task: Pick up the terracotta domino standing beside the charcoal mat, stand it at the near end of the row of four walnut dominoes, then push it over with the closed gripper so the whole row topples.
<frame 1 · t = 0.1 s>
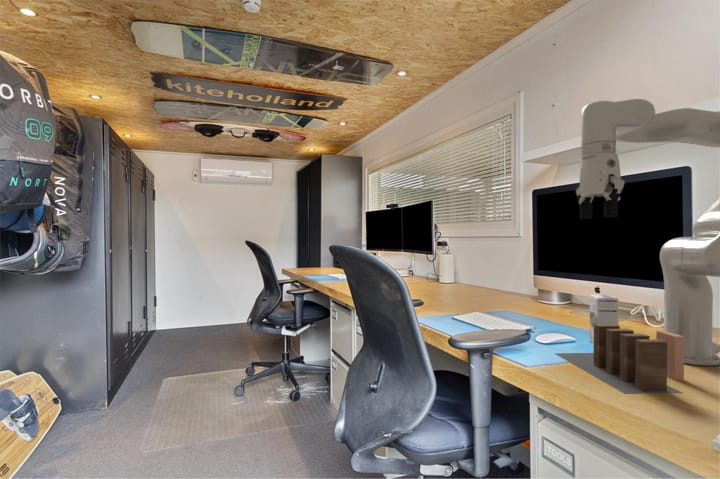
hand: (598, 218, 97), 37 cm above the table, tool pointing down, fingers open, 9 cm apart
domino 1: (606, 366, 91), resting on mat
domino 4: (650, 389, 78), resting on mat
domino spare: (669, 377, 85), on the table
domino 3: (634, 380, 82), resting on mat
domino 2: (619, 373, 87), resting on mat
syrup box: (603, 346, 110), on the table
mat: (609, 371, 88), on the table
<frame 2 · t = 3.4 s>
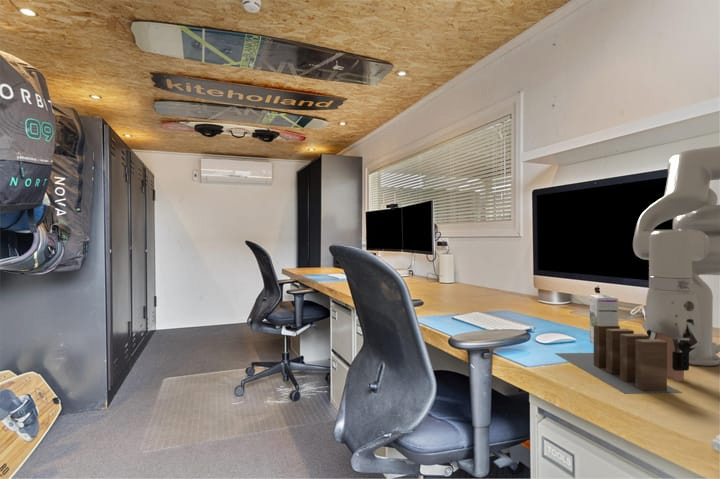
hand: (669, 364, 85), 3 cm above the table, tool pointing down, fingers closed on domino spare, 4 cm apart
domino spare: (669, 377, 85), on the table, touching gripper
everything else where it was.
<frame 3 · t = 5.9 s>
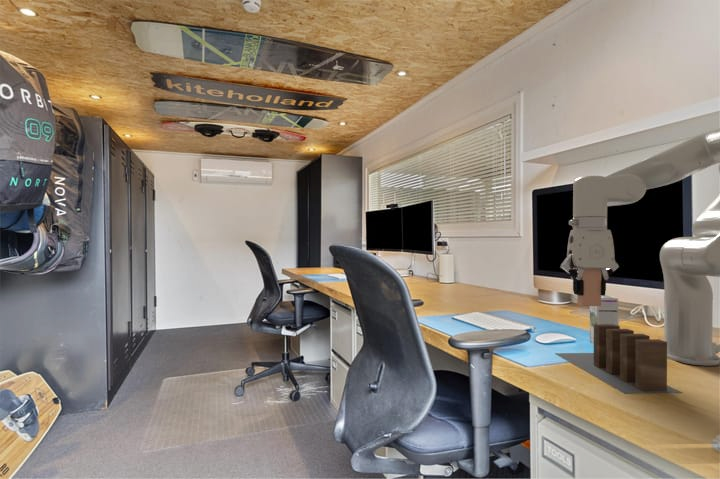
hand: (589, 294, 97), 17 cm above the table, tool pointing down, fingers closed on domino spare, 4 cm apart
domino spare: (589, 305, 97), point 14 cm above the table, touching gripper
everything else where it was.
when the fingers open (4 cm above the table, at t = 8.6 s): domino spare stays where it is, resting on mat.
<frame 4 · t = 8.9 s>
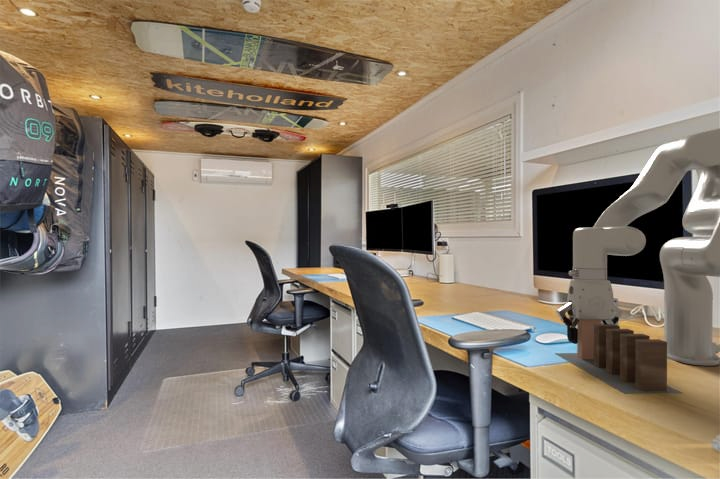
hand: (589, 341, 97), 5 cm above the table, tool pointing down, fingers open, 8 cm apart
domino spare: (589, 357, 98), resting on mat
everything else where it was.
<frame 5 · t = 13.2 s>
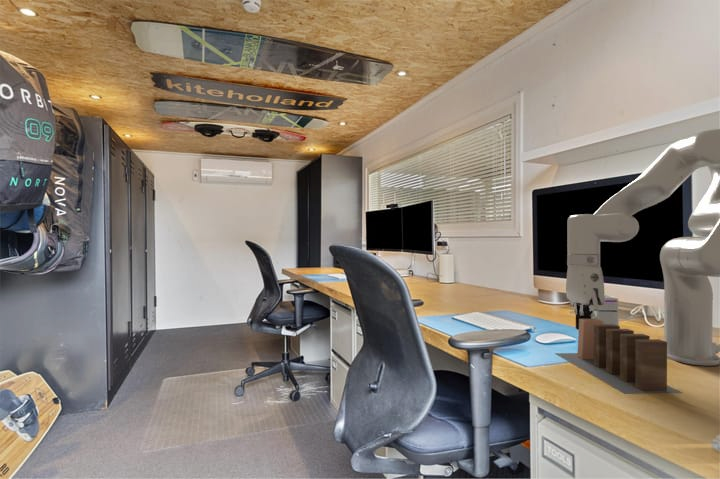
hand: (583, 329, 100), 7 cm above the table, tool pointing down, fingers closed
nothing on the table moved.
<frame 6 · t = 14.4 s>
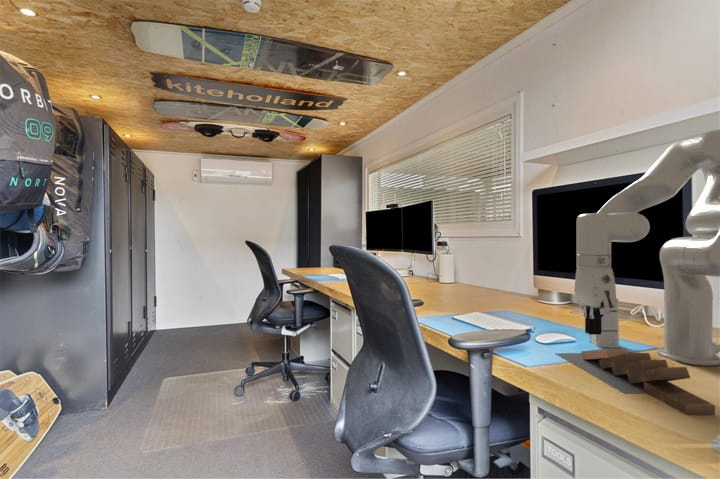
hand: (593, 333, 96), 7 cm above the table, tool pointing down, fingers closed
domino 1: (610, 364, 90), point 1 cm above the table, tilted 63°, touching domino 2, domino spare
domino 4: (655, 386, 76), point 1 cm above the table, tilted 93°, touching domino 3, mat
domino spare: (591, 355, 97), point 1 cm above the table, tilted 70°, touching domino 1, mat
domino 3: (639, 378, 81), point 1 cm above the table, tilted 63°, touching domino 2, domino 4
domino 2: (623, 371, 85), point 1 cm above the table, tilted 63°, touching domino 1, domino 3, mat
everything else where it was.
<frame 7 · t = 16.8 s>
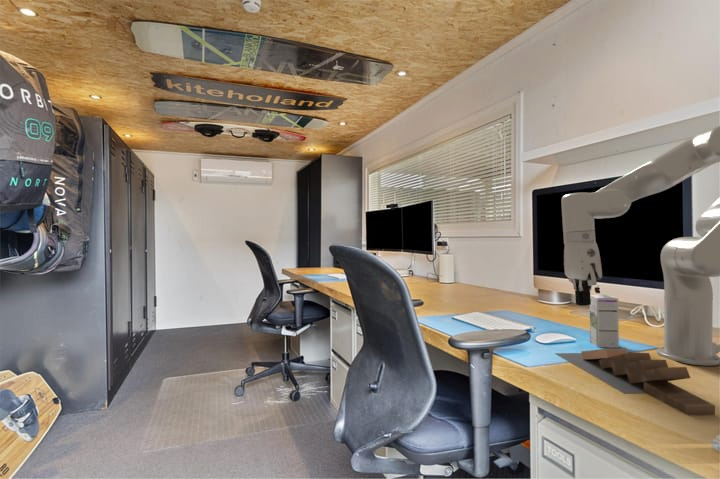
hand: (583, 304, 103), 13 cm above the table, tool pointing down, fingers closed
nothing on the table moved.
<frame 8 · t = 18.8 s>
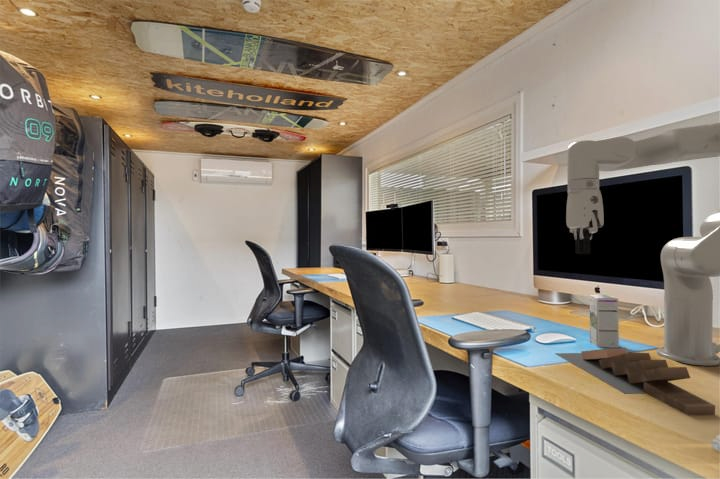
hand: (582, 253, 103), 27 cm above the table, tool pointing down, fingers closed
nothing on the table moved.
at the end: domino 4 tilted 93°; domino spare tilted 70°; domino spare inside the target area (0.0 cm from its centre), point 1.3 cm above the table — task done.
